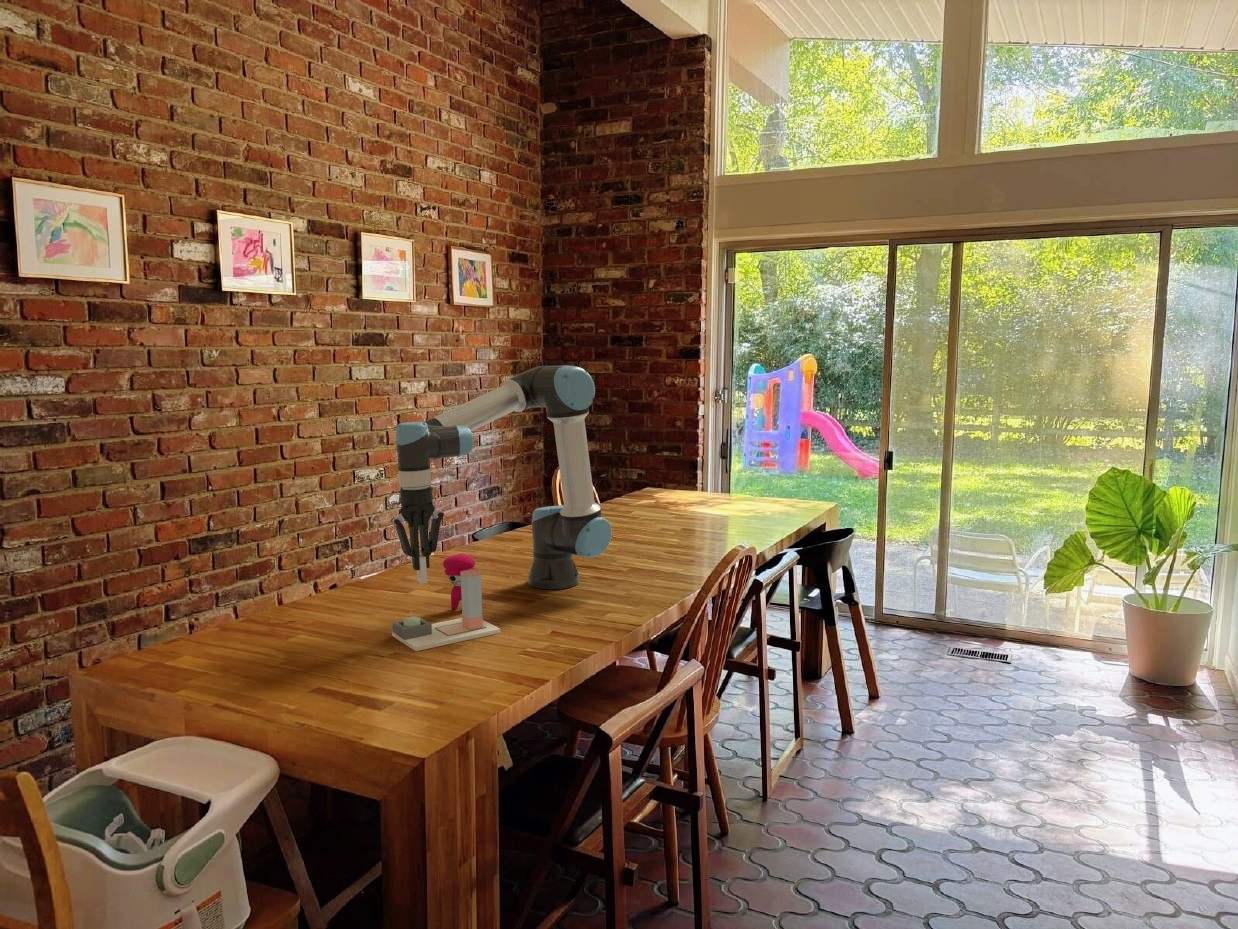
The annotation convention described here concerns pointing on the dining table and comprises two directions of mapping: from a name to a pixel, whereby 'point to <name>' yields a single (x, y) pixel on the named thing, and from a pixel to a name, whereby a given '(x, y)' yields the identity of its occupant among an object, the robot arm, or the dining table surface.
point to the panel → (438, 633)
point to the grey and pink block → (471, 599)
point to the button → (411, 621)
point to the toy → (457, 574)
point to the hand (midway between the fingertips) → (422, 582)
